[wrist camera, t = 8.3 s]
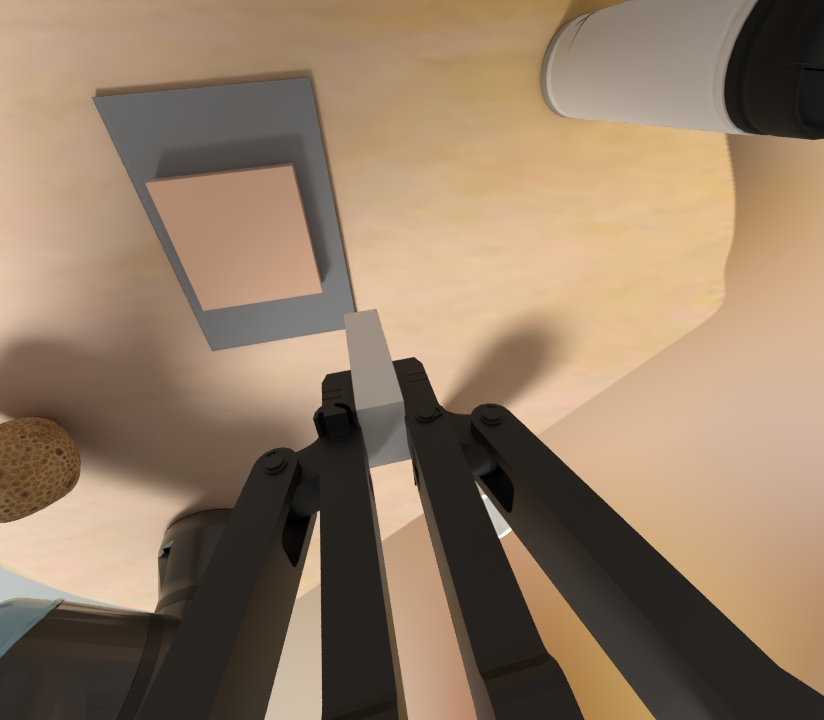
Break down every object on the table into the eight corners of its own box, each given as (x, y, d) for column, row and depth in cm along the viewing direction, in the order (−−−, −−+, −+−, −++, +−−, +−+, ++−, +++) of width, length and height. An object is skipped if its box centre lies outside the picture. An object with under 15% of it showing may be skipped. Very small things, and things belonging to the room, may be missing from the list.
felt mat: (212, 348, 36) (212, 351, 36) (94, 97, 25) (91, 97, 24) (357, 324, 38) (357, 326, 38) (310, 77, 26) (309, 77, 26)
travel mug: (545, 10, 27) (884, -117, 11) (628, 18, 28) (1044, -85, 12) (526, 115, 30) (758, 140, 14) (600, 119, 31) (891, 145, 15)
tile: (322, 284, 34) (208, 301, 33) (293, 162, 29) (154, 178, 28) (322, 292, 33) (203, 310, 32) (291, 165, 27) (145, 182, 26)
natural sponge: (124, 442, 41) (76, 528, 33) (46, 468, 41) (-22, 560, 33) (56, 381, 35) (-22, 465, 27) (-34, 411, 35) (-139, 504, 27)
